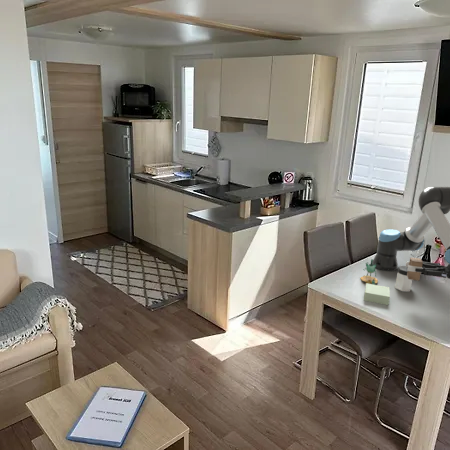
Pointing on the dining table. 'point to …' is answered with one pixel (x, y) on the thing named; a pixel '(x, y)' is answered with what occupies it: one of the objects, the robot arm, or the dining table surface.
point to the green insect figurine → (368, 278)
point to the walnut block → (414, 262)
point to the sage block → (377, 294)
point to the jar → (403, 279)
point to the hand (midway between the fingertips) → (407, 266)
